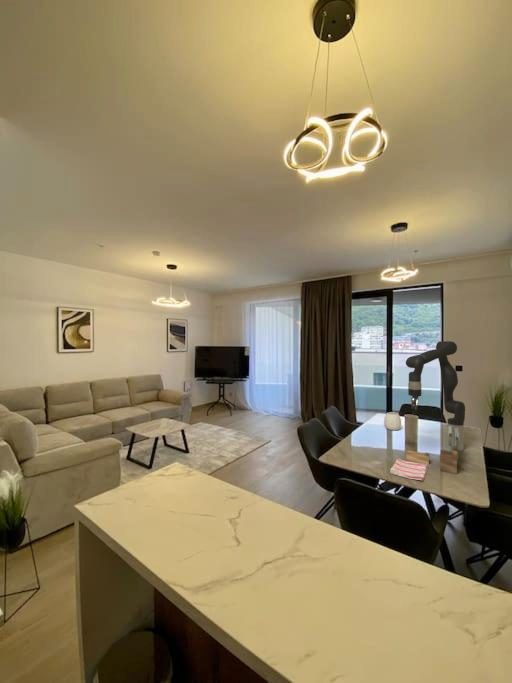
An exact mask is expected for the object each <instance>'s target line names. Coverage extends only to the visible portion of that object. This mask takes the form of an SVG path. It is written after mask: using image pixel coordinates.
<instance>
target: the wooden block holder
mask: <svg viewBox="0 0 512 683" xmlns="http://www.w3.org/2000/svg"><path fill="white" fill-rule="evenodd" d="M452 449H453V450H452V451H447V450H445V449H440V454H439V456H440V457H439V460H440V462H439V468H440V469H439V470H440V472H444V473H447V474H448V473H449V474H452V475H453V474H454V475H458V462H457V447H456V446H452Z"/></svg>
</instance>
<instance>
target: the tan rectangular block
mask: <svg viewBox="0 0 512 683" xmlns="http://www.w3.org/2000/svg"><path fill="white" fill-rule="evenodd" d="M406 461H408V462H414V463H419V464H426V465H429V464H430V453H429V452H425V453H424V452H419V451H418V452H417V451H413V450H407V451H406Z"/></svg>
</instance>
